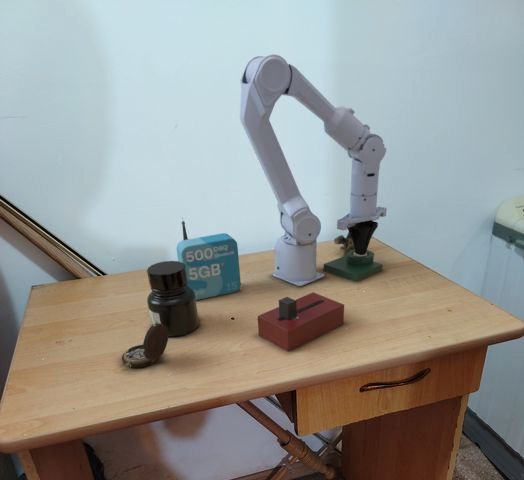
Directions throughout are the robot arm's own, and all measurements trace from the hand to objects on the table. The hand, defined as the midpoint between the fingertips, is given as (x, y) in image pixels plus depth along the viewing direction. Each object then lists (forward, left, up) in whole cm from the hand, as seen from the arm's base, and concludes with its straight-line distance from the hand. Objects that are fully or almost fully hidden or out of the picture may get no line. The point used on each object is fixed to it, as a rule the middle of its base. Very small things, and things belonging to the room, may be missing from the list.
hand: (360, 253), depth 109 cm
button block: (0, -3, -3) cm, 4 cm away
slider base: (+12, -31, -3) cm, 33 cm away
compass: (+1, -58, -4) cm, 58 cm away
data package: (-14, -33, -4) cm, 36 cm away
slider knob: (+12, -34, +1) cm, 36 cm away
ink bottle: (-6, -47, -4) cm, 47 cm away
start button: (0, 0, -2) cm, 2 cm away
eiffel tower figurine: (-28, -30, -4) cm, 41 cm away
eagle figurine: (-9, +7, -4) cm, 12 cm away
